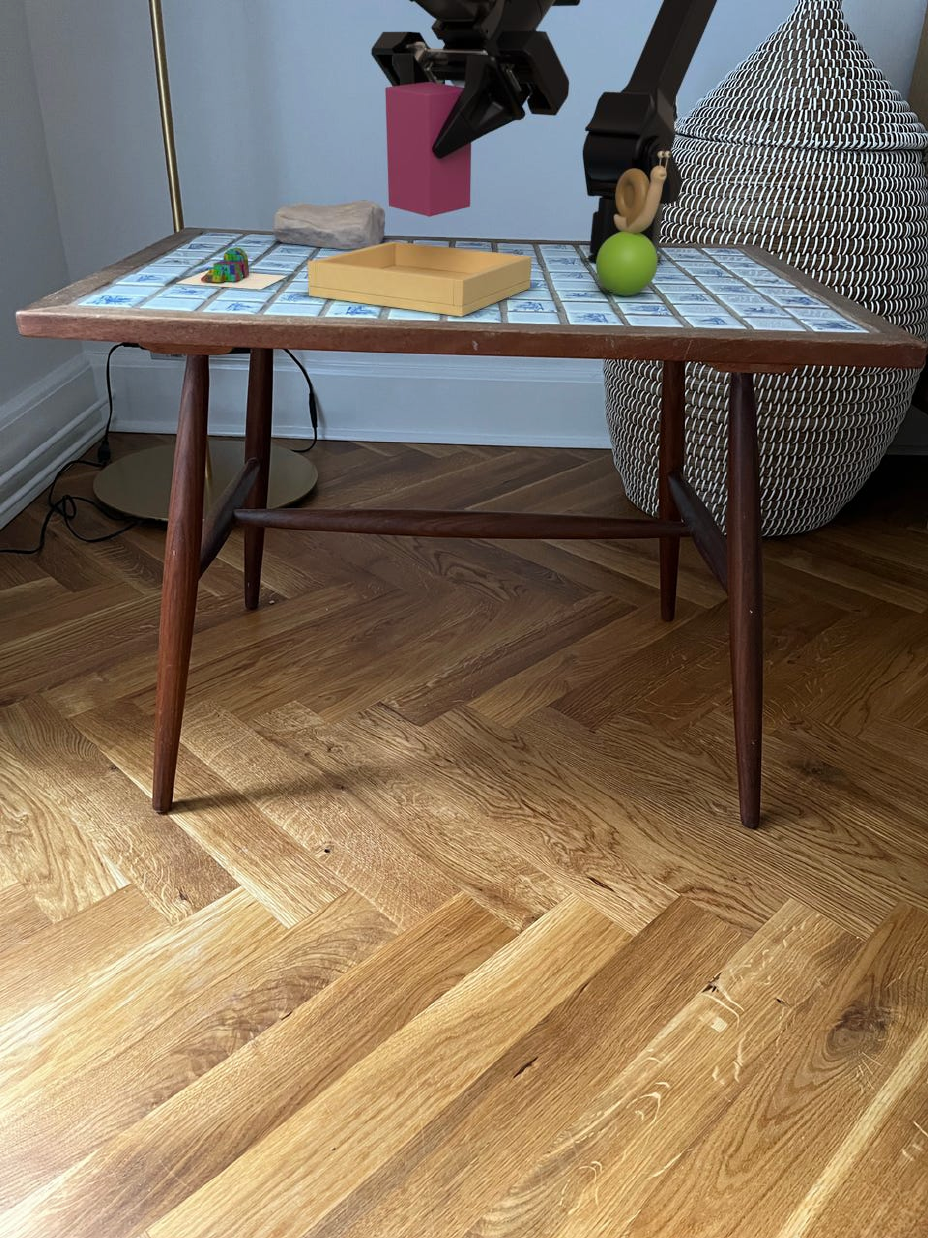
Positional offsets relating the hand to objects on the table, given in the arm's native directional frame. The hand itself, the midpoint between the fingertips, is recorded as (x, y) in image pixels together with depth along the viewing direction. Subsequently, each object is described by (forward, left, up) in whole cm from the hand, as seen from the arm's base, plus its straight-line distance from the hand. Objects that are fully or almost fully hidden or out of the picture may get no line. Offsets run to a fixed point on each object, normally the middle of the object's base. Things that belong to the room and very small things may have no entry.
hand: (413, 151), depth 78 cm
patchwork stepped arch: (+17, +4, -11) cm, 20 cm away
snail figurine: (-16, -10, -11) cm, 23 cm away
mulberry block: (0, -2, -4) cm, 5 cm away
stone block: (+22, -20, -11) cm, 32 cm away
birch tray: (0, -1, -11) cm, 11 cm away
